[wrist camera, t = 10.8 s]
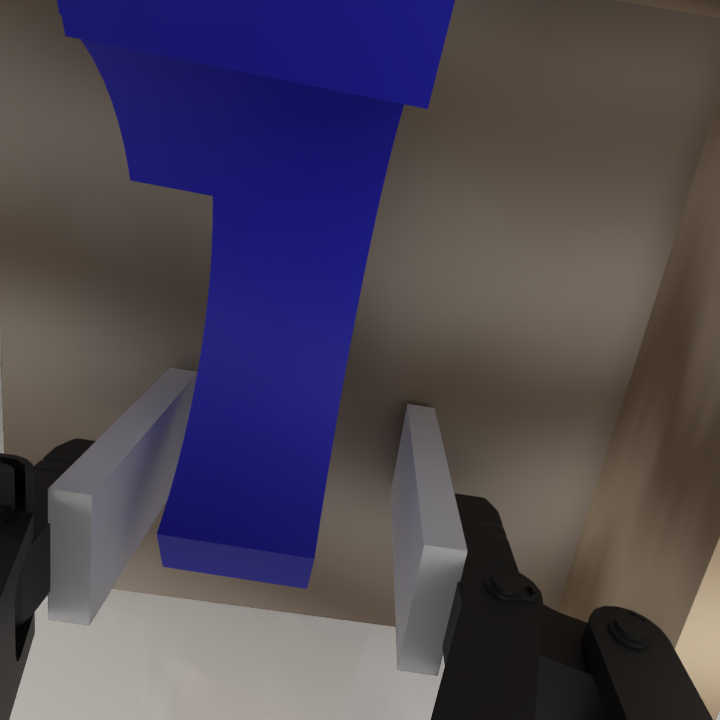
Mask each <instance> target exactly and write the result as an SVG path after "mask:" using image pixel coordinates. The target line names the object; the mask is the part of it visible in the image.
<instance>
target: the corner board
mask: <svg viewBox="0 0 720 720" xmlns="http://www.w3.org/2000/svg"><path fill="white" fill-rule="evenodd" d="M212 229H213V196H210V195H204V194H199V193H194V192H189V191H183V190H178V189H173V188H168V187H162V186H157V185H152V184H146V183H141V182H136V181H131V180H130V176H129V169H128V164H127V158H126V153H125V148H124V143H123V139H122V135H121V131H120V127H119V123H118V120H117V116H116V113H115V110H114V107H113V104H112V101H111V98H110V96H109V93H108V91H107V88H106V86H105V83H104V81H103V78H102V76H101V74H100V72H99V70H98V68H97V66H96V64H95V62H94V60H93V58H92V56H91V55H90V53H89V52H88V50H87V49H86V47H85V45H84V44H83V42H82V41H81V39H77V38H72V37H67V36H65V32H64V26H63V21H62V16H61V15H60V14H59V9H58V4H57V0H0V346H1V374H2V402H3V430H4V454H12V455H17V456H20V457H23V458H26V459H28V460H29V461H30V462H31V463H32V464H33V466H34V465H36V464H37V463H38V462H39V461H40V460H43V458H44V457H45V456H46V455H47V454H48V453H49V452H50V451H51V450H53V449H54V448H55V447H56V446H58V445H61V444H63V443H66V442H68V441H70V440H73V439H75V438H80V439H86V440H93V441H97V440H98V439H99V438H100V437H101V436H102V435H103V434H104V433H105V432H106V431H107V430H108V429H109V428H110V427H111V426H112V425H113V424H114V423H115V422H116V421H117V420H118V419H119V418H120V417H121V416H122V415H123V414H124V413H125V412H126V411H127V410H128V409H129V408H130V407H131V406H132V405H133V404H134V403H135V402H136V401H137V400H138V399H139V398H140V397H141V396H142V395H143V394H144V393H145V392H146V391H147V390H148V389H149V388H150V387H151V386H152V385H153V384H154V383H155V382H156V381H157V380H158V379H159V378H160V377H161V376H162V375H163V374H164V373H165V372H166V371H167V370H168V369H169V368H176V369H183V370H189V371H196V372H198V367H199V360H200V354H201V348H202V341H203V334H204V327H205V319H206V311H207V302H208V292H209V281H210V268H211V254H212ZM407 404H412V405H418V406H425V407H431V408H435V411H436V416H437V420H438V424H439V429H440V433H441V437H442V442H443V446H444V451H445V455H446V459H447V464H448V468H449V472H450V477H451V481H452V485H453V490H454V493H457V494H463V495H470V496H476V497H483V498H486V499H487V500H488V501H489V502H490V503H491V504H492V505H493V506H494V507H495V508H496V509H497V511H498V512H499V515H500V518H501V521H502V524H503V528H504V530H505V533H506V536H507V537H506V539H508V541H509V544H510V547H511V550H512V553H513V556H514V559H515V562H516V565H517V568H518V571H519V573H521V574H523V575H524V576H526V577H527V578H528V579H530V580H531V581H533V582H534V583H535V585H536V586H537V587H538V589H539V590H540V591H541V594H542V598H543V604H544V605H546V606H548V607H549V608H551V609H553V610H556V611H558V612H560V613H562V614H565V615H568V616H571V617H573V618H576V619H579V620H581V621H584V622H588V619H589V616H590V615H591V613H592V612H593V610H594V609H596V608H599V607H602V606H618V607H621V608H625V609H628V610H632V611H634V612H637V613H638V614H641V615H642V616H644V617H646V618H647V619H649V620H650V621H651V622H653V623H654V624H655V625H657V626H658V627H659V628H660V629H661V630H662V631H663V632H664V634H665V635H666V636H667V637H668V639H669V640H670V642H671V644H672V645H673V647H674V649H675V651H676V653H677V655H678V656H679V658H680V660H681V662H682V664H683V666H684V667H685V669H686V671H687V673H688V675H689V677H690V678H691V680H692V682H693V684H694V686H695V688H696V689H697V691H698V693H699V695H700V697H701V699H702V700H703V702H704V704H705V706H706V708H707V710H708V711H709V713H710V715H711V717H712V719H713V720H716V718H717V716H718V713H719V711H720V0H455V3H454V7H453V11H452V15H451V18H450V22H449V26H448V30H447V34H446V38H445V42H444V46H443V50H442V54H441V58H440V62H439V66H438V70H437V74H436V78H435V82H434V86H433V90H432V94H431V98H430V102H429V106H428V109H424V108H419V107H414V106H409V105H405V104H404V107H403V111H402V114H401V118H400V121H399V125H398V128H397V132H396V136H395V140H394V144H393V147H392V151H391V155H390V159H389V164H388V168H387V172H386V176H385V180H384V185H383V189H382V193H381V198H380V202H379V206H378V211H377V215H376V220H375V225H374V229H373V234H372V239H371V243H370V248H369V253H368V258H367V263H366V267H365V272H364V277H363V282H362V287H361V292H360V297H359V302H358V307H357V313H356V318H355V323H354V328H353V334H352V339H351V344H350V349H349V355H348V360H347V366H346V371H345V377H344V382H343V388H342V393H341V399H340V405H339V411H338V416H337V422H336V428H335V434H334V440H333V446H332V452H331V458H330V464H329V470H328V476H327V482H326V488H325V494H324V501H323V507H322V513H321V520H320V526H319V533H318V540H317V546H316V553H315V559H314V563H313V567H312V571H311V575H310V579H309V583H308V587H307V589H303V588H297V587H290V586H284V585H277V584H271V583H264V582H258V581H252V580H245V579H239V578H232V577H226V576H219V575H213V574H206V573H200V572H193V571H187V570H180V569H174V568H167V567H163V566H162V561H161V555H160V550H159V544H158V539H157V531H158V528H159V525H160V522H161V519H162V516H163V513H164V510H165V506H166V503H167V501H166V503H165V505H164V506H163V508H162V509H161V511H160V513H159V514H158V516H157V517H156V519H155V521H154V522H153V524H152V525H151V527H150V529H149V530H148V532H147V533H146V535H145V537H144V538H143V540H142V541H141V543H140V545H139V546H138V548H137V550H136V551H135V553H134V554H133V556H132V558H131V559H130V561H129V562H128V564H127V566H126V567H125V569H124V570H123V572H122V574H121V575H120V577H119V578H118V580H117V582H116V583H115V585H114V586H113V588H112V589H118V590H125V591H133V592H140V593H148V594H155V595H163V596H170V597H178V598H185V599H193V600H200V601H208V602H215V603H222V604H230V605H237V606H245V607H252V608H260V609H267V610H275V611H282V612H290V613H297V614H305V615H312V616H320V617H327V618H334V619H342V620H349V621H357V622H364V623H372V624H379V625H387V626H394V627H396V619H395V592H394V566H393V539H392V512H391V488H392V482H393V477H394V472H395V466H396V461H397V456H398V451H399V445H400V440H401V435H402V429H403V424H404V419H405V414H406V408H407Z"/></svg>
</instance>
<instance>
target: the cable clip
mask: <svg viewBox="0 0 720 720" xmlns="http://www.w3.org/2000/svg"><path fill="white" fill-rule="evenodd" d="M454 3H455V0H57V4H58V9H59V14H60V15H61V16H62V21H63V26H64V32H65V36H67V37H72V38H77V39H81V41H82V42H83V44H84V45H85V47H86V49H87V50H88V52H89V53H90V55H91V56H92V58H93V60H94V62H95V64H96V66H97V68H98V70H99V72H100V74H101V76H102V78H103V81H104V83H105V86H106V88H107V91H108V93H109V96H110V98H111V101H112V104H113V107H114V110H115V113H116V116H117V120H118V123H119V127H120V131H121V135H122V139H123V143H124V148H125V153H126V158H127V164H128V169H129V176H130V180H131V181H136V182H141V183H146V184H152V185H157V186H162V187H168V188H173V189H178V190H183V191H189V192H194V193H199V194H204V195H210V196H213V229H212V254H211V268H210V281H209V292H208V302H207V311H206V319H205V327H204V334H203V341H202V348H201V354H200V360H199V367H198V372H197V378H196V383H195V389H194V394H193V399H192V404H191V409H190V413H189V418H188V422H187V427H186V431H185V436H184V440H183V444H182V448H181V452H180V456H179V460H178V464H177V468H176V471H175V475H174V479H173V482H172V486H171V489H170V493H169V496H168V499H167V503H166V506H165V510H164V513H163V516H162V519H161V522H160V525H159V528H158V531H157V539H158V544H159V550H160V555H161V561H162V566H163V567H167V568H174V569H180V570H187V571H193V572H200V573H206V574H213V575H219V576H226V577H232V578H239V579H245V580H252V581H258V582H264V583H271V584H277V585H284V586H290V587H297V588H303V589H307V587H308V583H309V579H310V575H311V571H312V567H313V563H314V559H315V553H316V546H317V540H318V533H319V526H320V520H321V513H322V507H323V501H324V494H325V488H326V482H327V476H328V470H329V464H330V458H331V452H332V446H333V440H334V434H335V428H336V422H337V416H338V411H339V405H340V399H341V393H342V388H343V382H344V377H345V371H346V366H347V360H348V355H349V349H350V344H351V339H352V334H353V328H354V323H355V318H356V313H357V307H358V302H359V297H360V292H361V287H362V282H363V277H364V272H365V267H366V263H367V258H368V253H369V248H370V243H371V239H372V234H373V229H374V225H375V220H376V215H377V211H378V206H379V202H380V198H381V193H382V189H383V185H384V180H385V176H386V172H387V168H388V164H389V159H390V155H391V151H392V147H393V144H394V140H395V136H396V132H397V128H398V125H399V121H400V118H401V114H402V111H403V107H404V104H405V105H409V106H414V107H419V108H424V109H428V106H429V102H430V98H431V94H432V90H433V86H434V82H435V78H436V74H437V70H438V66H439V62H440V58H441V54H442V50H443V46H444V42H445V38H446V34H447V30H448V26H449V22H450V18H451V15H452V11H453V7H454Z"/></svg>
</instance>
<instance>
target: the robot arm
mask: <svg viewBox="0 0 720 720" xmlns="http://www.w3.org/2000/svg"><path fill="white" fill-rule="evenodd" d="M196 378H197V372H196V371H189V370H183V369H176V368H169V369H168V370H167V371H166V372H165V373H164V374H163V375H162V376H161V377H160V378H159V379H158V380H157V381H156V382H155V383H154V384H153V385H152V386H151V387H150V388H149V389H148V390H147V391H146V392H145V393H144V394H143V395H142V396H141V397H140V398H139V399H138V400H137V401H136V402H135V403H134V404H133V405H132V406H131V407H130V408H129V409H128V410H127V411H126V412H125V413H124V414H123V415H122V416H121V417H120V418H119V419H118V420H117V421H116V422H115V423H114V424H113V425H112V426H111V427H110V428H109V429H108V430H107V431H106V432H105V433H104V434H103V435H102V436H101V437H100V438H99V439H98V440H97V441H93V440H86V439H80V438H75V439H73V440H70V441H68V442H66V443H63V444H61V445H58V446H56V447H55V448H54V449H53V450H51V451H50V452H49V453H48V454H47V455H46V456H45V457H44V458H43V460H40V461H39V462H38V463H37V464H36V465H34V466H33V464H32V463H31V462H30V461H29V460H28V459H26V458H23V457H20V456H17V455H12V454H2V453H0V720H9V718H10V715H11V711H12V708H13V705H14V701H15V698H16V694H17V691H18V688H19V684H20V681H21V678H22V674H23V671H24V667H25V664H26V661H27V657H28V654H29V650H30V647H31V644H32V640H33V637H34V634H35V616H34V612H35V611H36V609H37V608H38V607H39V605H40V604H41V603H42V601H43V600H44V599H45V597H46V596H47V595H48V620H55V621H62V622H69V623H76V624H83V625H90V623H91V622H92V620H93V619H94V617H95V615H96V614H97V612H98V610H99V609H100V607H101V606H102V604H103V602H104V601H105V599H106V598H107V596H108V594H109V593H110V591H111V590H112V588H113V586H114V585H115V583H116V582H117V580H118V578H119V577H120V575H121V574H122V572H123V570H124V569H125V567H126V566H127V564H128V562H129V561H130V559H131V558H132V556H133V554H134V553H135V551H136V550H137V548H138V546H139V545H140V543H141V541H142V540H143V538H144V537H145V535H146V533H147V532H148V530H149V529H150V527H151V525H152V524H153V522H154V521H155V519H156V517H157V516H158V514H159V513H160V511H161V509H162V508H163V506H164V505H165V503H166V501H167V499H168V496H169V493H170V489H171V486H172V482H173V479H174V475H175V471H176V468H177V464H178V460H179V456H180V452H181V448H182V444H183V440H184V436H185V431H186V427H187V422H188V418H189V413H190V409H191V404H192V399H193V394H194V389H195V383H196ZM391 512H392V539H393V566H394V592H395V619H396V645H397V670H401V671H408V672H415V673H422V674H429V675H436V676H438V673H439V668H440V664H441V660H442V656H443V655H444V662H445V668H444V672H443V676H442V679H441V683H440V687H439V691H438V694H437V698H436V702H435V706H434V709H433V713H432V717H431V720H713V719H712V717H711V715H710V713H709V711H708V710H707V708H706V706H705V704H704V702H703V700H702V699H701V697H700V695H699V693H698V691H697V689H696V688H695V686H694V684H693V682H692V680H691V678H690V677H689V675H688V673H687V671H686V669H685V667H684V666H683V664H682V662H681V660H680V658H679V656H678V655H677V653H676V651H675V649H674V647H673V645H672V644H671V642H670V640H669V639H668V637H667V636H666V635H665V634H664V632H663V631H662V630H661V629H660V628H659V627H658V626H657V625H655V624H654V623H653V622H651V621H650V620H649V619H647V618H646V617H644V616H642V615H641V614H638V613H637V612H634V611H632V610H628V609H625V608H621V607H618V606H602V607H599V608H596V609H594V610H593V612H592V613H591V615H590V616H589V619H588V622H584V621H581V620H579V619H576V618H573V617H571V616H568V615H565V614H562V613H560V612H558V611H556V610H553V609H551V608H549V607H548V606H546V605H544V604H543V598H542V594H541V591H540V590H539V589H538V587H537V586H536V585H535V583H534V582H533V581H531V580H530V579H528V578H527V577H526V576H524V575H523V574H521V573H519V571H518V568H517V565H516V562H515V559H514V556H513V553H512V550H511V547H510V544H509V541H508V539H506V537H507V536H506V533H505V530H504V528H503V524H502V521H501V518H500V515H499V512H498V511H497V509H496V508H495V507H494V506H493V505H492V504H491V503H490V502H489V501H488V500H487V499H486V498H483V497H476V496H470V495H463V494H457V493H454V490H453V485H452V481H451V477H450V472H449V468H448V464H447V459H446V455H445V451H444V446H443V442H442V437H441V433H440V429H439V424H438V420H437V416H436V411H435V408H431V407H425V406H418V405H412V404H407V408H406V414H405V419H404V424H403V429H402V435H401V440H400V445H399V451H398V456H397V461H396V466H395V472H394V477H393V482H392V488H391Z"/></svg>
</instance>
